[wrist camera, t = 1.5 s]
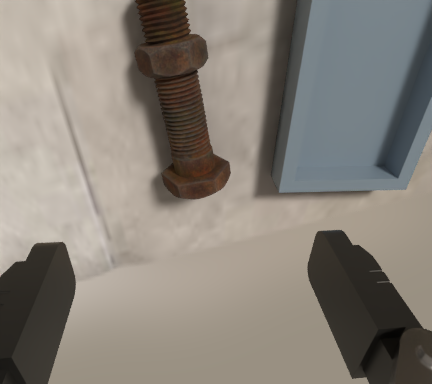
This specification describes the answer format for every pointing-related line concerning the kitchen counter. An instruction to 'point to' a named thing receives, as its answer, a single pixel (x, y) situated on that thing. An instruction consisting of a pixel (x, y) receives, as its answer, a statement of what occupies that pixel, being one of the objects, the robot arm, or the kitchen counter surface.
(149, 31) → the bolt
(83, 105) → the kitchen counter surface
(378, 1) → the parts tray
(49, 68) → the kitchen counter surface
